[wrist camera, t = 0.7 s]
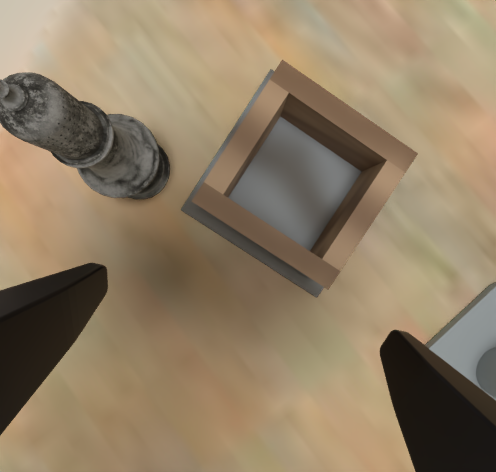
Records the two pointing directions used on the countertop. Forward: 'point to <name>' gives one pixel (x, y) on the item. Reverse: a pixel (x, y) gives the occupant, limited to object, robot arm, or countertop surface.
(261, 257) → the holder
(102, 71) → the countertop surface
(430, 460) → the robot arm
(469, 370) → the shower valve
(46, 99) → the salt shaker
